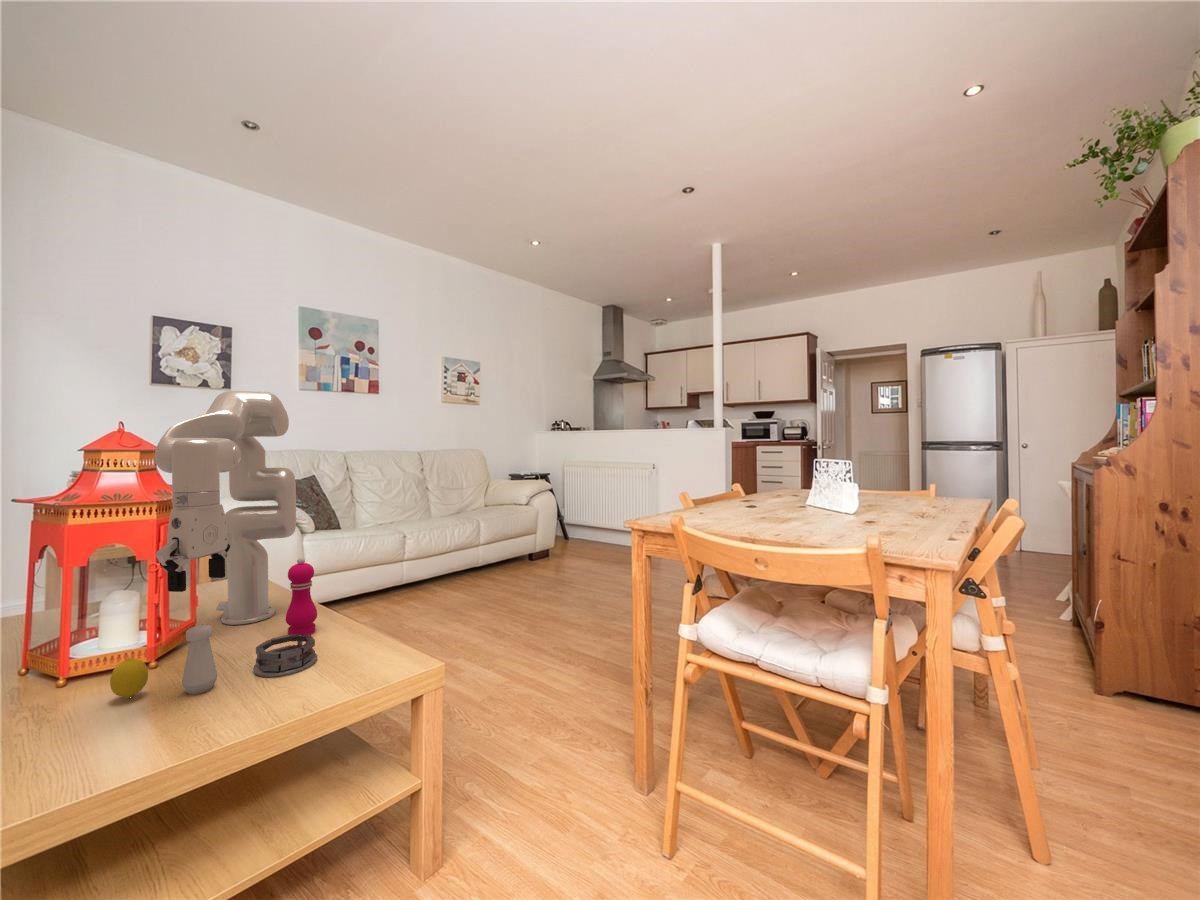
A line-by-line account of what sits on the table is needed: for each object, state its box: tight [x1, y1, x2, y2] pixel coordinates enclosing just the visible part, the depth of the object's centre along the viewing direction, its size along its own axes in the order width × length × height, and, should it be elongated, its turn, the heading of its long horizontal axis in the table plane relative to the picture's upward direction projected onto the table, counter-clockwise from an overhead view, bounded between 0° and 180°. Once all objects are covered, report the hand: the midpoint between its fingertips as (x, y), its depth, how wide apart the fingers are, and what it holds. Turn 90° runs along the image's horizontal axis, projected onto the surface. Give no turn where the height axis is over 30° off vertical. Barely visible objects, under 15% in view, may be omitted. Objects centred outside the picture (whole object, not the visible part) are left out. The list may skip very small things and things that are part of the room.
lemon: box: [109, 657, 149, 699], centre depth 101 cm, size 6×6×8 cm
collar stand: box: [252, 634, 318, 679], centre depth 116 cm, size 12×12×5 cm
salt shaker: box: [181, 624, 218, 696], centre depth 104 cm, size 6×6×13 cm
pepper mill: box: [285, 557, 318, 635], centre depth 134 cm, size 7×7×20 cm
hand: (198, 584), depth 104 cm, fingers open, 9 cm apart
